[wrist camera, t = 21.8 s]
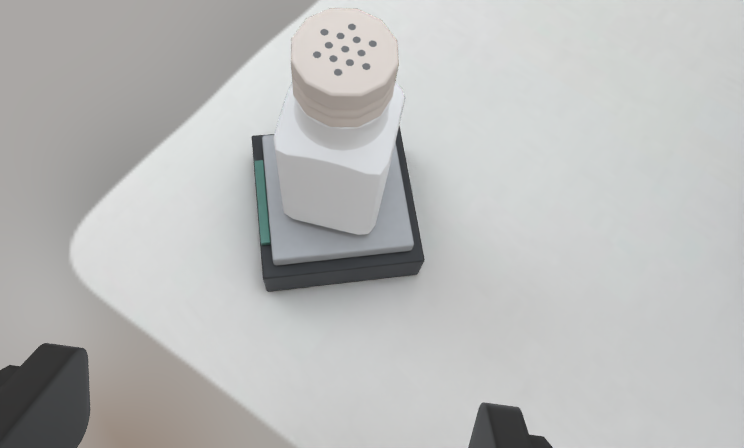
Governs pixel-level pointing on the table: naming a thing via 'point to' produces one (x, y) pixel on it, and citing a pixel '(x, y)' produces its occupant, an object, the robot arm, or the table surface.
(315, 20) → the salt shaker
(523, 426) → the robot arm
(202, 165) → the table surface
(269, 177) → the kitchen scale
